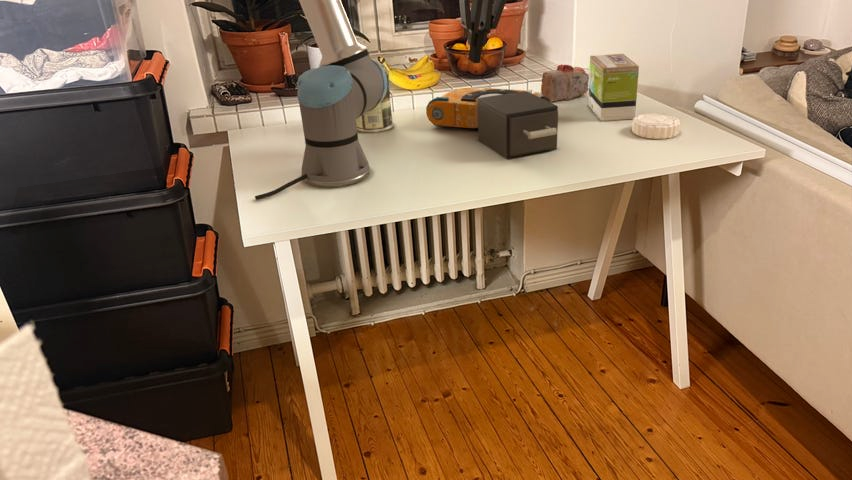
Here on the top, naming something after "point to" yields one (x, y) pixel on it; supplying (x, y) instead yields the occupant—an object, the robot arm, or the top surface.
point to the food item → (564, 83)
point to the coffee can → (377, 115)
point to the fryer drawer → (533, 132)
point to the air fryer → (506, 118)
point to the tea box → (613, 87)
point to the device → (462, 106)
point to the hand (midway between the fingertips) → (473, 60)
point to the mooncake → (656, 126)
